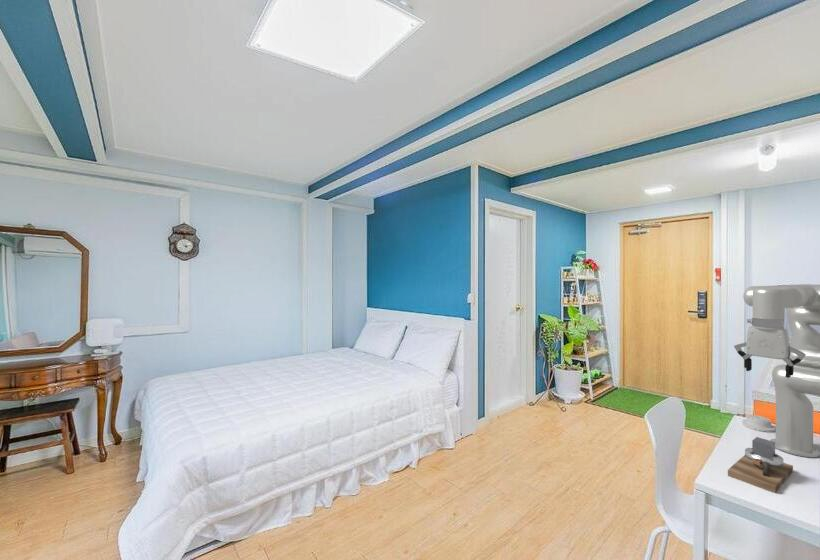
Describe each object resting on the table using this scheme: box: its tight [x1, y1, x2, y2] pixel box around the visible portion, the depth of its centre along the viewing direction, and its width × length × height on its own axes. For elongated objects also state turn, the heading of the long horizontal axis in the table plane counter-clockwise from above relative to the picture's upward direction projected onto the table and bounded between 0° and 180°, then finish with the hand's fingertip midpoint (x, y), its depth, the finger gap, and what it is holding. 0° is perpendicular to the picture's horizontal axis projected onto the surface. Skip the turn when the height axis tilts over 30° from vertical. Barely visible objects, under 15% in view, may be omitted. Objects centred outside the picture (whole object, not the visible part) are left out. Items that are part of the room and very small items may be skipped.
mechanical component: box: [742, 414, 776, 433], centre depth 150 cm, size 10×4×10 cm
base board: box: [727, 454, 794, 494], centre depth 115 cm, size 21×11×6 cm, turn 122°
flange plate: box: [744, 436, 785, 467], centre depth 115 cm, size 11×9×6 cm
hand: (767, 373), depth 119 cm, fingers open, 9 cm apart
